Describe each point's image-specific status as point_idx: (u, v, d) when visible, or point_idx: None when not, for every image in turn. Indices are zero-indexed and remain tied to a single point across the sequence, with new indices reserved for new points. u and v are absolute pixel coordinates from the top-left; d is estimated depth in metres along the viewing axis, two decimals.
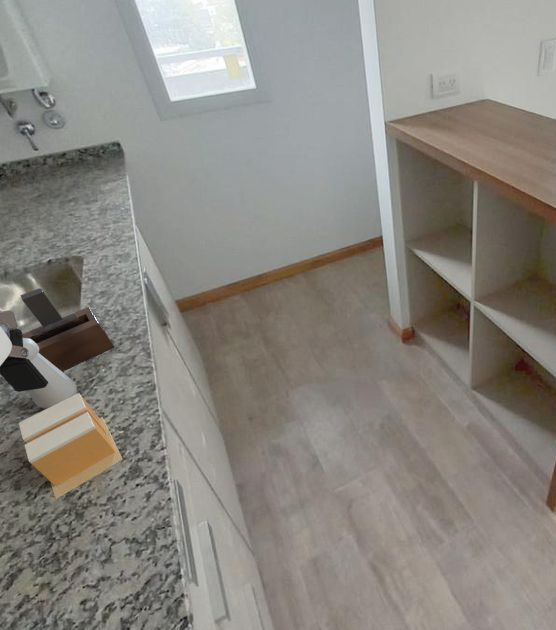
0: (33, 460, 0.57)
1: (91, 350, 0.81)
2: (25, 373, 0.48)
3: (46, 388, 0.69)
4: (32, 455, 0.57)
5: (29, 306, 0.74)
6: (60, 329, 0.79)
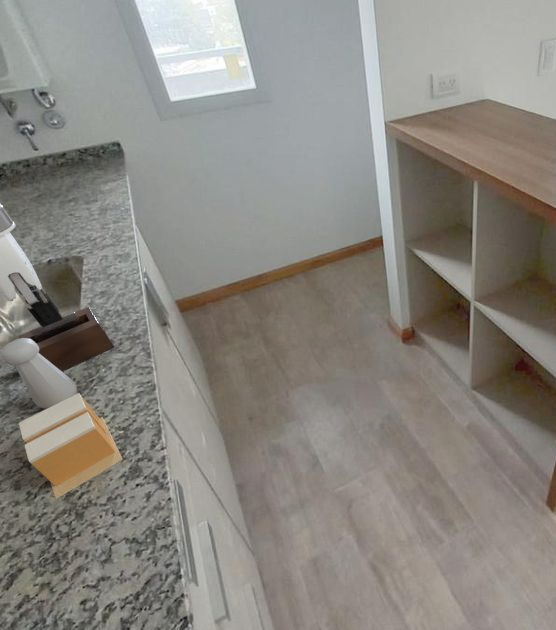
0: (33, 460, 0.57)
1: (91, 350, 0.81)
2: None
3: (46, 388, 0.69)
4: (32, 455, 0.57)
5: None
6: (60, 329, 0.79)
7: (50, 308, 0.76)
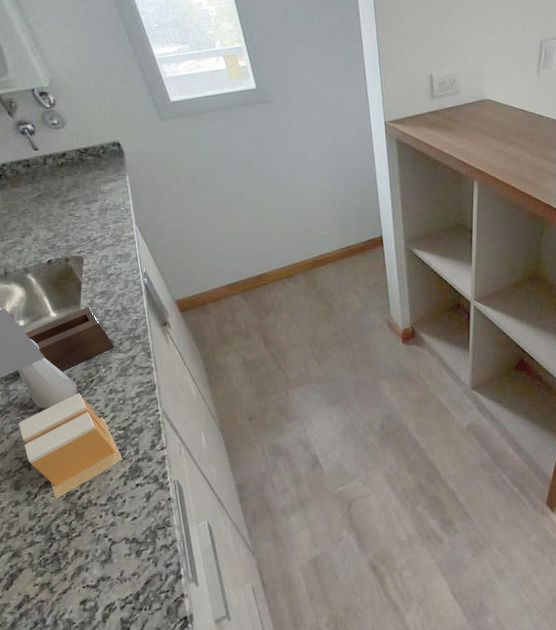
0: (33, 460, 0.57)
1: (91, 350, 0.81)
2: None
3: (46, 388, 0.69)
4: (32, 455, 0.57)
5: None
6: None
7: None
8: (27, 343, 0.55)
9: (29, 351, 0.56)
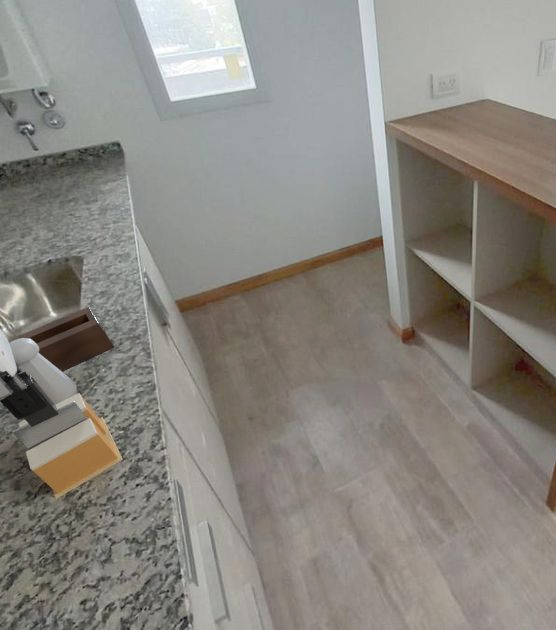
0: (35, 467, 0.56)
1: (91, 350, 0.81)
2: None
3: (46, 388, 0.69)
4: (34, 462, 0.56)
5: None
6: (55, 425, 0.59)
7: (30, 393, 0.54)
8: None
9: None
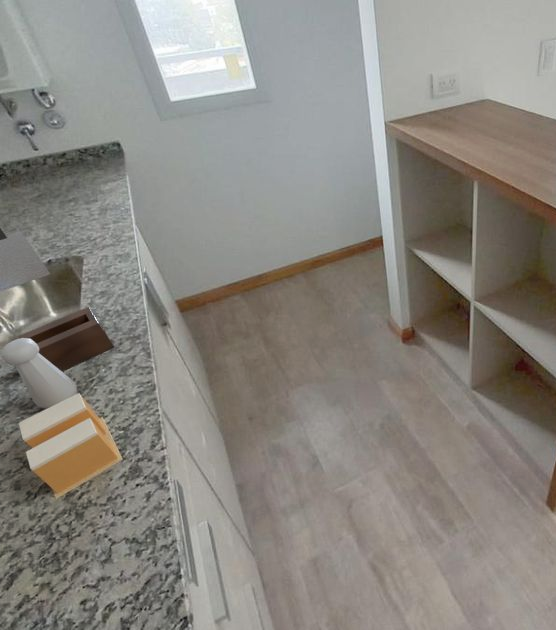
0: (35, 467, 0.56)
1: (91, 350, 0.81)
2: None
3: (46, 388, 0.69)
4: (34, 462, 0.56)
5: None
6: (5, 250, 0.70)
7: None
8: (37, 261, 0.73)
9: (38, 267, 0.73)
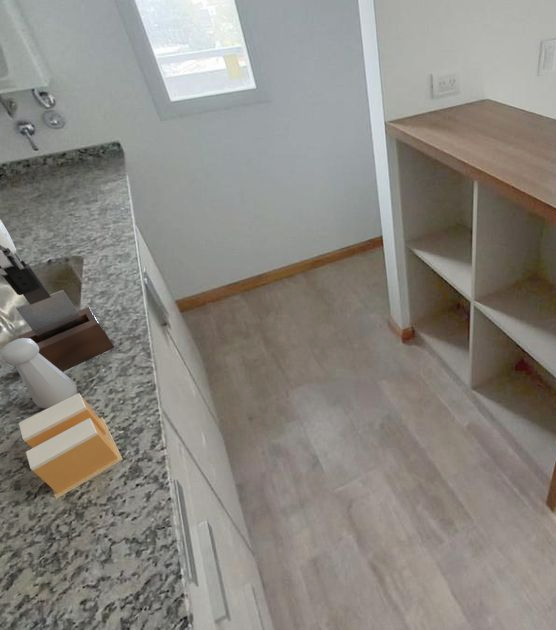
0: (35, 467, 0.56)
1: (91, 350, 0.81)
2: None
3: (46, 388, 0.69)
4: (34, 462, 0.56)
5: None
6: (48, 307, 0.77)
7: (27, 275, 0.72)
8: (76, 314, 0.80)
9: (77, 320, 0.81)
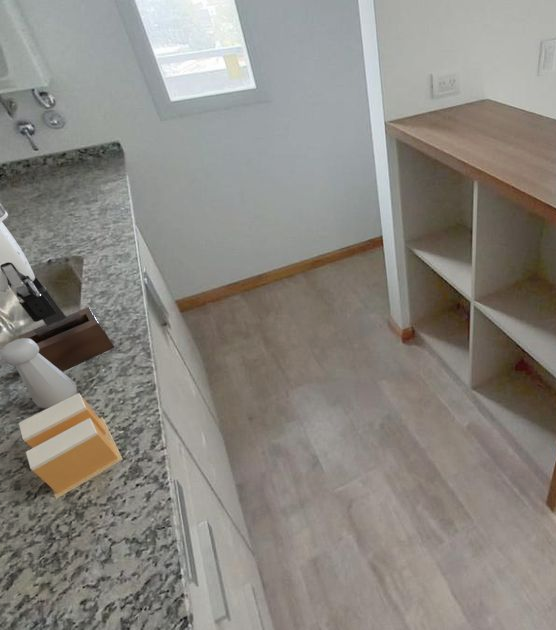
0: (35, 467, 0.56)
1: (91, 350, 0.81)
2: (32, 281, 0.77)
3: (46, 388, 0.69)
4: (34, 462, 0.56)
5: None
6: (64, 327, 0.80)
7: (43, 301, 0.72)
8: None
9: None
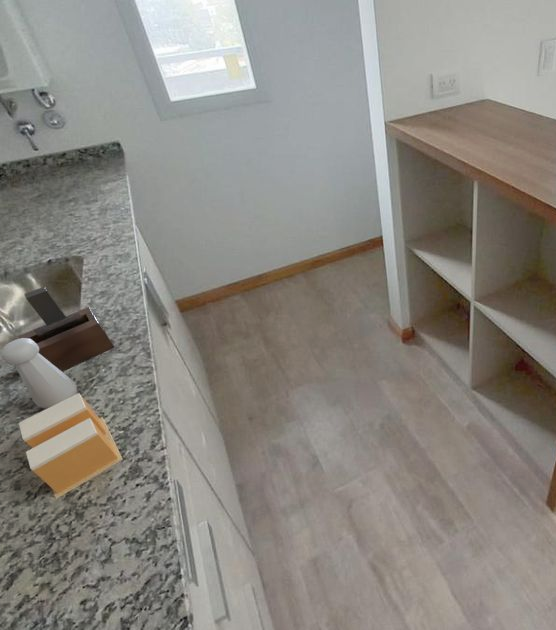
0: (35, 467, 0.56)
1: (91, 350, 0.81)
2: None
3: (46, 388, 0.69)
4: (34, 462, 0.56)
5: (33, 305, 0.74)
6: (64, 327, 0.80)
7: None
8: None
9: None
